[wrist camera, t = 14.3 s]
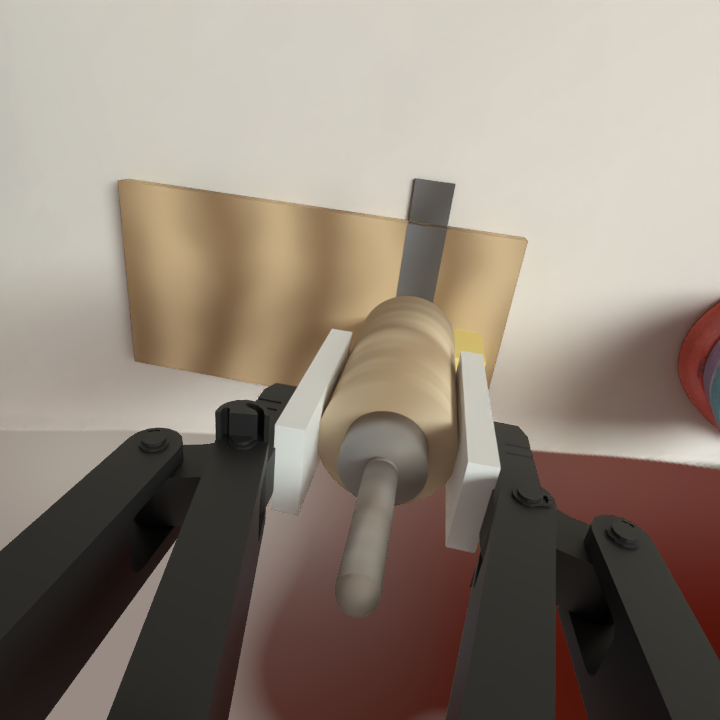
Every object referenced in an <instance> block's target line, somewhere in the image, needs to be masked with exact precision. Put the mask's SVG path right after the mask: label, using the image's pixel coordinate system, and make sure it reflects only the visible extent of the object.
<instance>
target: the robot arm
mask: <svg viewBox="0 0 720 720" xmlns="http://www.w3.org/2000/svg"><path fill="white" fill-rule="evenodd" d="M351 340H352V332H349V331H343V330H337V329H332V330H331V331H330V333H329V335H328V336H327V338H326V340H325V341H324V343H323V345H322V346H321V348H320V350H319V351H318V353H317V355H316V356H315V358H314V360H313V362H312V363H311V365H310V367H309V368H308V370H307V372H306V373H305V375H304V377H303V378H302V380H301V382H300V383H299V385H298V387H297V386H291V385H286V384H280V383H275V384H273V385H271V386H269V387H268V388H266V389H264V391H263V392H262V393H261V395H260V396H259V398H258V400H256V402H255V401H250V400H236V401H231V402H227V403H225V404H223V405H221V406H220V407H219V408H218V409H217V410H216V412H215V417H216V440H215V443H211V444H203V445H183V442H182V436H181V435H180V434H179V433H178V432H176V431H174V430H171V429H167V428H151V429H146V430H143V431H140V432H137V433H136V434H134V435H133V436H131V437H129V439H127V440H126V441H125V442H124V443H123V444H121V445H120V446H119V447H118V448H117V449H116V450H115V451H114V452H112V453H111V454H110V455H109V456H108V457H107V458H106V459H104V460H103V461H102V462H101V463H100V464H99V465H98V466H97V467H95V468H94V469H93V470H92V471H91V472H90V473H89V474H87V475H86V476H85V477H84V478H83V479H82V480H81V481H79V482H78V483H77V484H76V485H75V486H74V487H73V488H71V489H70V490H69V491H68V492H67V493H66V494H65V495H64V496H62V497H61V498H60V499H59V500H58V501H57V502H56V503H54V504H53V505H52V506H51V507H50V508H49V509H48V510H47V511H45V512H44V513H43V514H42V515H41V516H40V517H39V518H37V519H36V520H35V521H34V522H33V523H32V524H31V525H30V526H28V527H27V528H26V529H25V530H24V531H23V532H22V533H20V534H19V535H18V536H17V537H16V538H15V539H14V540H12V542H10V543H9V544H8V545H7V546H6V547H5V548H3V549H2V550H1V551H0V720H45V719H46V717H47V716H48V715H49V713H50V712H51V711H52V709H53V708H54V706H55V705H56V704H57V702H58V701H59V700H60V698H61V697H62V695H63V694H64V693H65V691H66V690H67V689H68V687H69V686H70V685H71V683H72V682H73V680H74V679H75V678H76V676H77V675H78V673H79V672H80V671H81V669H82V668H83V667H84V665H85V664H86V663H87V661H88V660H89V658H90V657H91V656H92V654H93V653H94V652H95V650H96V649H97V647H98V646H99V645H100V643H101V642H102V641H103V639H104V638H105V636H106V635H107V634H108V632H109V631H110V630H111V628H112V627H113V626H114V624H115V623H116V621H117V620H118V619H119V617H120V616H121V615H122V613H123V612H124V610H125V609H126V608H127V606H128V605H129V604H130V602H131V601H132V600H133V598H134V597H135V595H136V594H137V593H138V591H139V590H140V589H141V587H142V586H143V584H144V583H145V581H146V580H147V579H148V577H149V576H150V575H151V573H152V572H153V571H154V569H155V568H156V567H157V565H158V564H159V563H160V561H161V560H162V558H163V557H164V555H165V554H166V553H167V552H168V550H169V549H170V547H171V546H172V544H173V543H174V542H175V540H176V539H177V540H176V543H175V546H174V548H173V551H172V553H171V556H170V558H169V561H168V563H167V566H166V569H165V571H164V574H163V576H162V579H161V581H160V584H159V586H158V589H157V592H156V594H155V597H154V599H153V602H152V604H151V607H150V610H149V612H148V615H147V618H146V620H145V622H144V625H143V628H142V630H141V633H140V635H139V638H138V640H137V643H136V646H135V648H134V651H133V653H132V656H131V658H130V661H129V664H128V666H127V669H126V671H125V674H124V676H123V679H122V682H121V684H120V687H119V689H118V692H117V694H116V697H115V700H114V702H113V705H112V707H111V710H110V713H109V715H108V717H107V720H228V718H229V712H230V707H231V701H232V696H233V691H234V686H235V680H236V675H237V669H238V664H239V659H240V653H241V648H242V642H243V637H244V632H245V626H246V621H247V616H248V610H249V605H250V600H251V594H252V588H253V584H254V578H255V573H256V567H257V562H258V556H259V551H260V545H261V541H262V535H263V529H264V525H265V512H266V506H267V504H268V502H269V500H270V498H271V510H273V511H278V512H283V513H288V514H293V515H297V516H298V515H299V512H300V510H301V507H302V505H303V502H304V500H305V497H306V495H307V492H308V489H309V487H310V485H311V482H312V479H313V477H314V474H315V472H316V469H317V467H318V464H319V461H320V456H319V452H318V438H319V428H320V420H321V418H322V416H323V414H324V411H325V409H326V407H327V405H328V402H329V400H330V398H331V396H332V393H333V391H334V389H335V387H336V384H337V382H338V380H339V378H340V375H341V373H342V371H343V369H344V366H345V364H346V362H347V360H348V357H349V355H350V348H351ZM456 392H457V419H458V453H457V457H456V461H455V465H454V469H453V473H452V475H451V477H450V478H449V480H448V481H447V482H446V547H450V548H454V549H459V550H463V551H468V552H473V553H475V552H476V549H477V545H478V542H479V539H480V548H481V552H480V555H479V558H478V561H477V565H476V568H475V571H474V574H473V578H472V581H471V584H470V587H471V588H472V589H471V594H470V600H469V605H468V610H467V615H466V620H465V625H464V630H463V635H462V640H461V645H460V650H459V655H458V660H457V665H456V670H455V675H454V680H453V685H452V690H451V695H450V701H449V706H448V710H447V716H446V720H555V638H556V628H555V627H556V605H558V612H559V616H560V619H561V622H562V626H563V629H564V633H565V637H566V641H567V644H568V648H569V651H570V655H571V659H572V662H573V666H574V669H575V673H576V677H577V680H578V684H579V687H580V691H581V695H582V698H583V702H584V705H585V709H586V712H587V716H588V720H720V661H719V659H718V657H717V655H716V654H715V652H714V650H713V648H712V646H711V645H710V643H709V641H708V639H707V637H706V636H705V634H704V632H703V630H702V628H701V627H700V625H699V623H698V622H697V619H696V618H695V616H694V614H693V612H692V611H691V609H690V607H689V605H688V603H687V602H686V600H685V598H684V596H683V595H682V593H681V591H680V589H679V587H678V585H677V584H676V582H675V580H674V578H673V576H672V575H671V573H670V571H669V569H668V567H667V566H666V564H665V562H664V560H663V559H662V557H661V555H660V553H659V551H658V550H657V548H656V546H655V544H654V542H653V541H652V540H651V538H650V537H649V536H648V534H647V533H646V532H645V531H643V530H642V529H641V528H640V527H638V526H637V525H636V524H634V523H632V522H630V521H628V520H626V519H624V518H621V517H617V516H614V515H600V516H597V517H595V518H594V520H593V521H592V523H591V525H588V524H586V523H584V522H581V521H579V520H576V519H574V518H572V517H570V516H567V515H566V514H564V513H562V512H560V511H559V510H557V509H556V504H555V500H554V498H553V497H552V496H551V495H550V494H549V492H548V491H546V490H545V489H543V488H542V487H541V486H540V482H539V478H538V474H537V470H536V467H535V463H534V460H533V456H532V452H531V450H530V444H529V440H528V437H527V436H526V435H525V433H524V432H523V431H522V430H521V429H520V428H519V427H518V426H514V425H509V424H503V423H498V422H493V417H492V410H491V404H490V398H489V392H488V386H487V379H486V373H485V367H484V361H483V355H482V354H477V353H471V352H465V351H461V353H460V357H459V362H458V366H457V371H456ZM271 496H272V497H271Z"/></svg>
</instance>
